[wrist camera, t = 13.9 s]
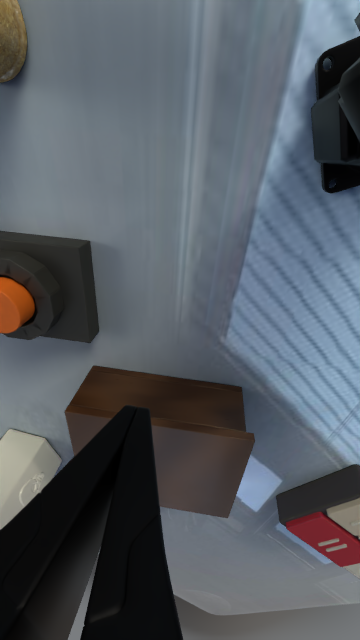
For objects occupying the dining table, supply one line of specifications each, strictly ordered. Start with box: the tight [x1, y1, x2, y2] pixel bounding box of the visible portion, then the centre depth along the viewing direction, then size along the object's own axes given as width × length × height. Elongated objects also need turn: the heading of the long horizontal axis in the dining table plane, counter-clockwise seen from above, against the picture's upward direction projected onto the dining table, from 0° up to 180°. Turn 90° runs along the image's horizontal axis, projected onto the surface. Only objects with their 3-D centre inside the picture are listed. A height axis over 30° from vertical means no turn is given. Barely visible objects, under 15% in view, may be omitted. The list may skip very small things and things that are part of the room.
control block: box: [0, 231, 99, 343], centre depth 21 cm, size 10×8×4 cm
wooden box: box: [69, 366, 246, 432], centre depth 27 cm, size 14×12×5 cm
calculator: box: [276, 465, 360, 579], centre depth 31 cm, size 11×4×15 cm
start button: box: [0, 277, 35, 333], centre depth 19 cm, size 4×4×2 cm
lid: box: [65, 405, 255, 518], centre depth 24 cm, size 15×12×1 cm
